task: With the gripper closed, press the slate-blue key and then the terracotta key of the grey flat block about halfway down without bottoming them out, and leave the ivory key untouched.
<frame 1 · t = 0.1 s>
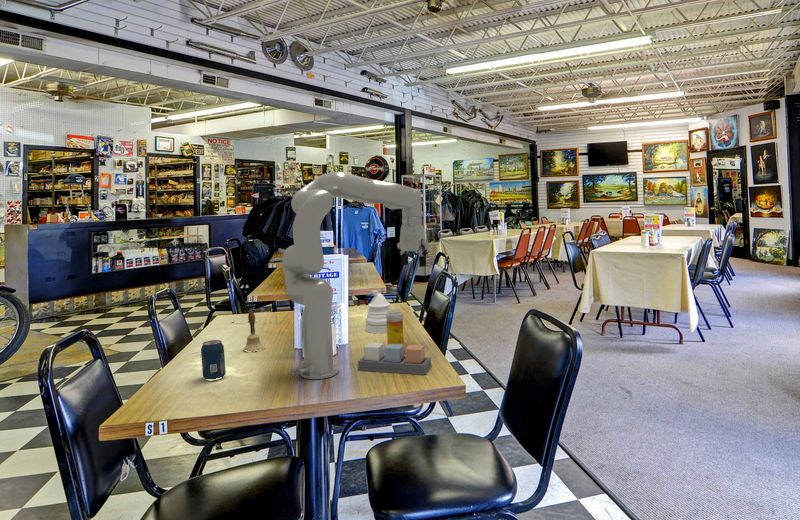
hand: (413, 265, 180), 31 cm above the table, tool pointing down, fingers open, 9 cm apart
grey flat block: (394, 368, 156), on the table
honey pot: (380, 330, 209), on the table
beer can: (395, 350, 176), on the table
terracotta key: (415, 354, 153), point 5 cm above the table, slide at 0.0 cm
ivory key: (374, 351, 157), point 5 cm above the table, slide at 0.0 cm
soda can: (214, 378, 152), on the table
blue key: (394, 352, 155), point 5 cm above the table, slide at 0.0 cm
hand bell: (254, 350, 184), on the table
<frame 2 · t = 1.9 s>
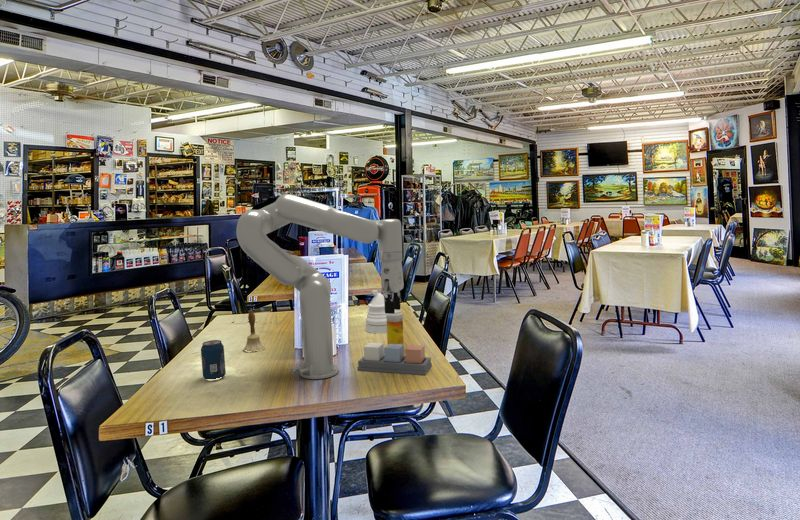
hand: (392, 310, 154), 19 cm above the table, tool pointing down, fingers open, 5 cm apart
nothing on the table moved.
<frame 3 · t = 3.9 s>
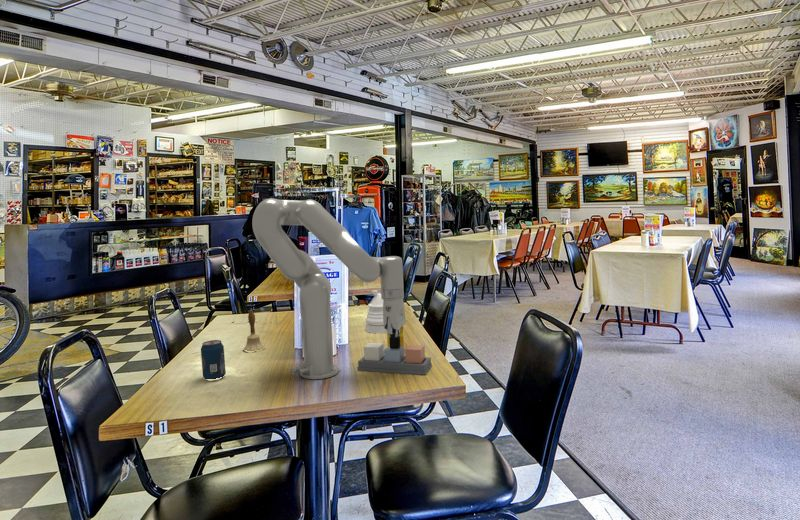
hand: (395, 347, 155), 7 cm above the table, tool pointing down, fingers closed
blue key: (394, 354, 155), point 5 cm above the table, slide at 0.7 cm, touching gripper
everything else where it was.
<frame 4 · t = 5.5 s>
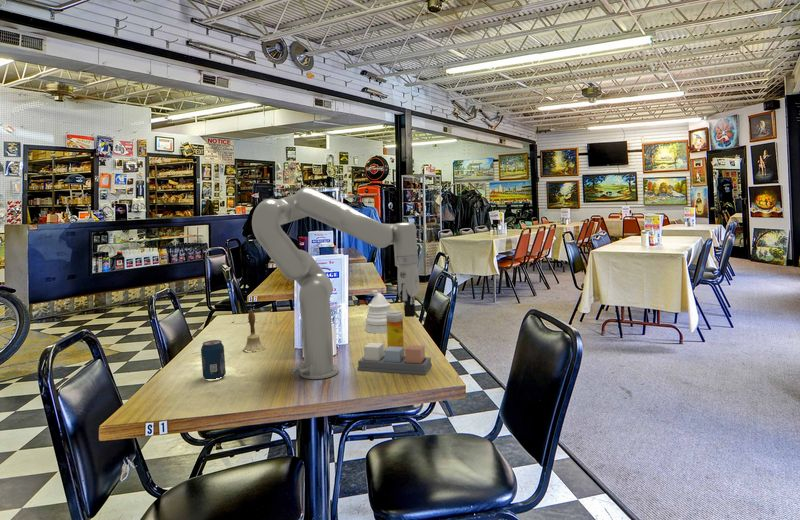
hand: (410, 316, 152), 18 cm above the table, tool pointing down, fingers closed
blue key: (394, 355, 155), point 4 cm above the table, slide at 0.9 cm
everything else where it was.
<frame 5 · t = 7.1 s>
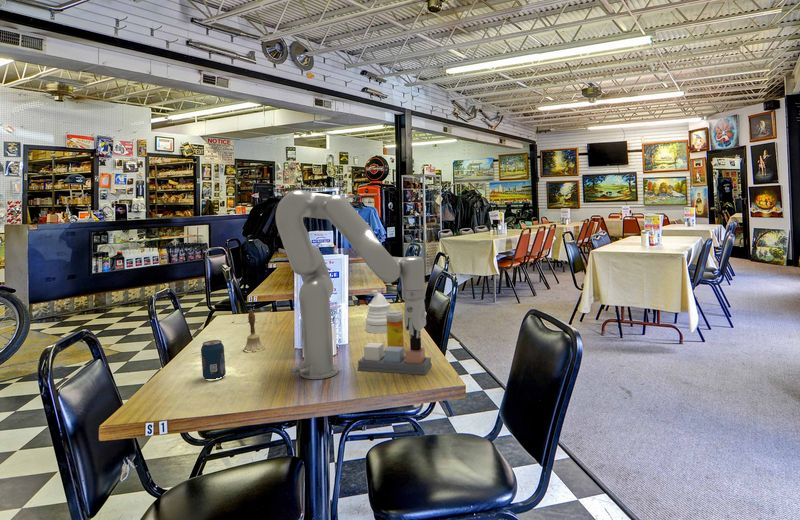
hand: (415, 349, 153), 7 cm above the table, tool pointing down, fingers closed
terracotta key: (415, 356, 153), point 4 cm above the table, slide at 0.8 cm, touching gripper
everything else where it was.
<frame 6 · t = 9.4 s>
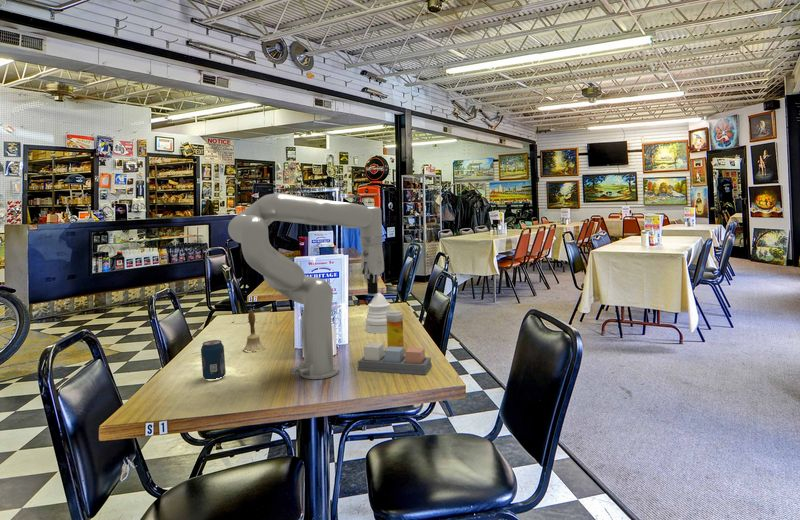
hand: (372, 293, 165), 24 cm above the table, tool pointing down, fingers closed
terracotta key: (415, 356, 153), point 4 cm above the table, slide at 0.9 cm
everything else where it was.
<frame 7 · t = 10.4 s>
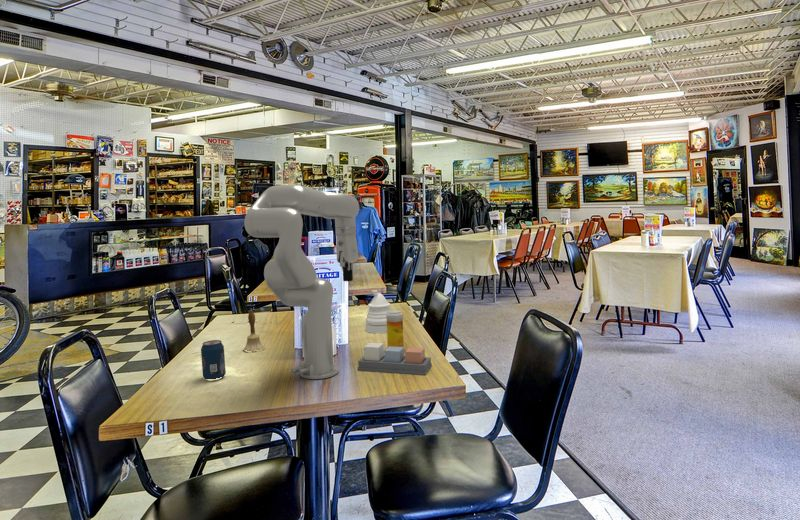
hand: (348, 280, 174), 27 cm above the table, tool pointing down, fingers closed
nothing on the table moved.
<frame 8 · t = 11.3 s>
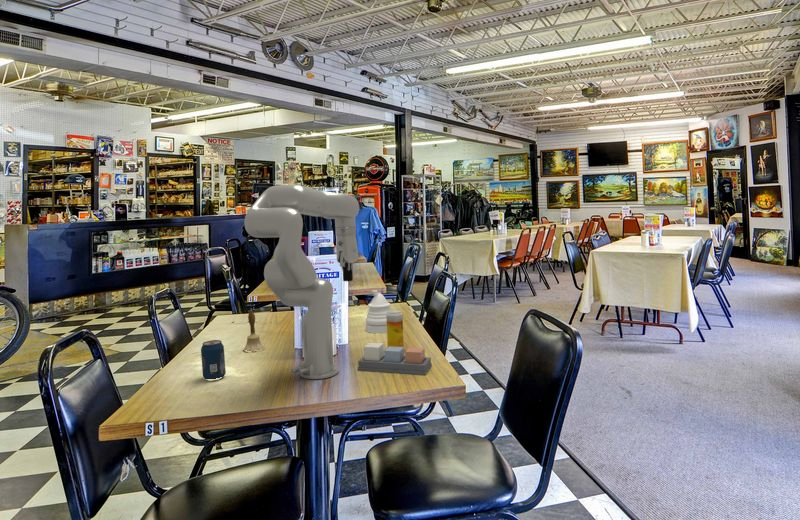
hand: (348, 280, 174), 27 cm above the table, tool pointing down, fingers closed
nothing on the table moved.
at the end: blue key slide at 0.9 cm; terracotta key slide at 0.9 cm; ivory key slide at 0.0 cm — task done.
